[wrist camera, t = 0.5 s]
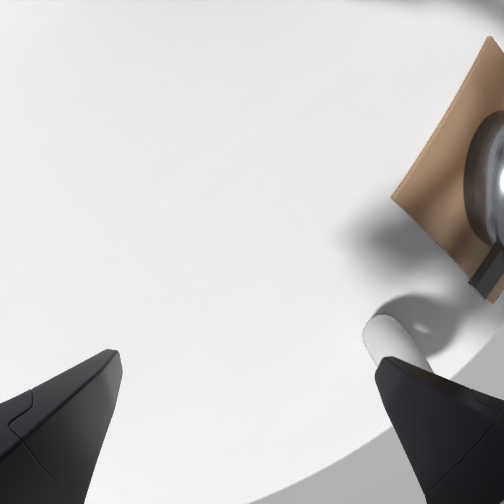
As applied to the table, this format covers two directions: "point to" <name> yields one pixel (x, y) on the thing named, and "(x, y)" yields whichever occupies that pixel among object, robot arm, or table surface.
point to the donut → (392, 342)
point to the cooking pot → (486, 198)
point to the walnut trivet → (455, 165)
